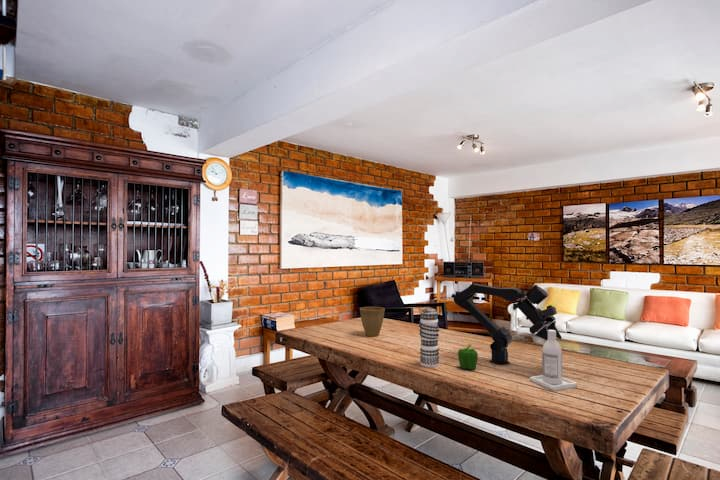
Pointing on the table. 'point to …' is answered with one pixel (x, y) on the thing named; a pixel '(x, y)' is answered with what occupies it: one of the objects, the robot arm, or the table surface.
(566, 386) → the tray
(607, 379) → the table surface
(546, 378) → the bath foam
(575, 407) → the table surface
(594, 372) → the table surface
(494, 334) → the robot arm
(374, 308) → the plant pot
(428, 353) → the leaning tower model
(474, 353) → the bell pepper
